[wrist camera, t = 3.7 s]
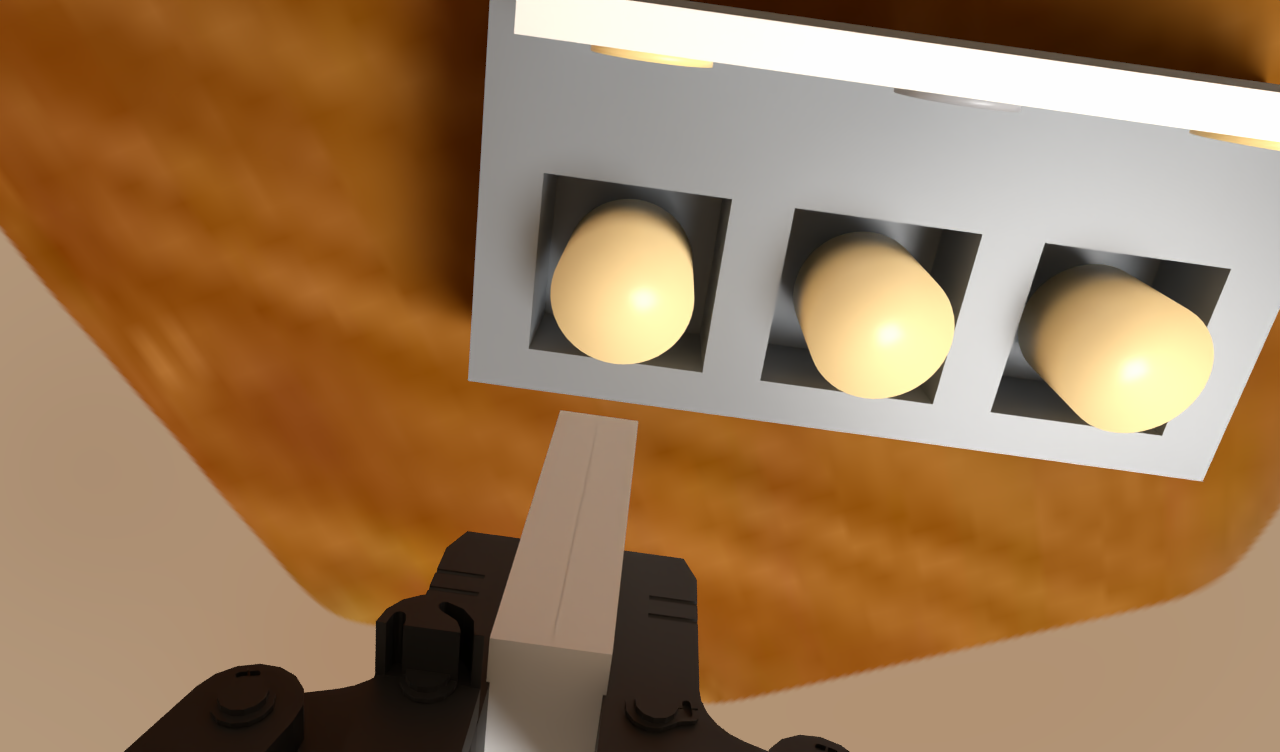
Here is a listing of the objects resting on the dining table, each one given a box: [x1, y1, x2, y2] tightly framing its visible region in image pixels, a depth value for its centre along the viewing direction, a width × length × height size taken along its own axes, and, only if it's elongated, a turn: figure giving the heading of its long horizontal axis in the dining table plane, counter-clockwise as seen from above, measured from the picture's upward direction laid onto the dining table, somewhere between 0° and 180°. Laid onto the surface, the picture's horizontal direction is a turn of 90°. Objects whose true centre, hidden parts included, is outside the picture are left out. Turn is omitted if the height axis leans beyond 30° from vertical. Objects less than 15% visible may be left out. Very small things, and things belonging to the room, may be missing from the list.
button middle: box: [793, 232, 955, 399], centre depth 28 cm, size 4×4×4 cm
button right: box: [1018, 264, 1214, 433], centre depth 28 cm, size 4×4×4 cm
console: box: [468, 0, 1280, 481], centre depth 27 cm, size 26×13×12 cm, turn 83°
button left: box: [550, 199, 694, 364], centre depth 28 cm, size 4×4×4 cm
